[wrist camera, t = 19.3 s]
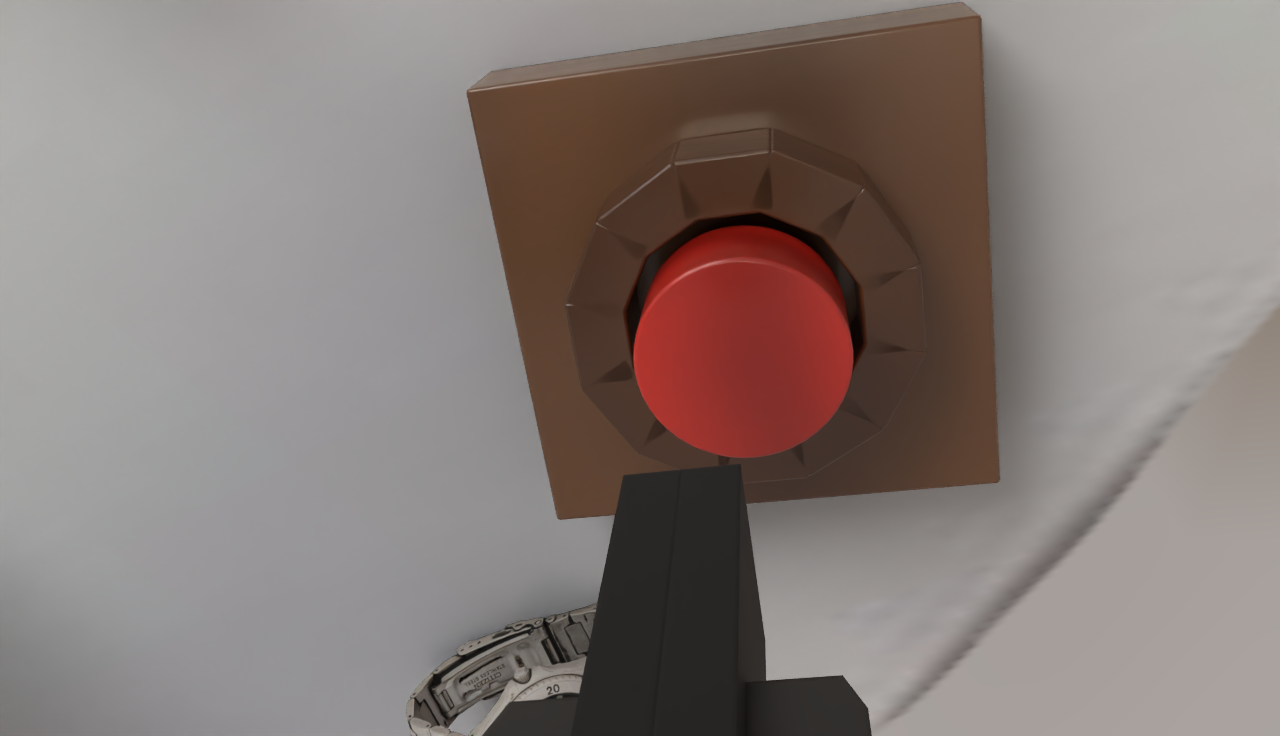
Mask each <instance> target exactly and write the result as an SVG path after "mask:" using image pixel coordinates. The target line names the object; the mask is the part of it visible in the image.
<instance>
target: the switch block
mask: <svg viewBox="0 0 1280 736" xmlns="http://www.w3.org/2000/svg"><path fill="white" fill-rule="evenodd" d="M467 98H468V102H469V107H470V112H471V117H472V121H473V126H474V131H475V135H476V140H477V145H478V149H479V154H480V159H481V163H482V168H483V173H484V177H485V182H486V187H487V191H488V196H489V201H490V205H491V210H492V215H493V220H494V224H495V229H496V234H497V238H498V243H499V248H500V252H501V257H502V262H503V266H504V271H505V276H506V280H507V285H508V290H509V294H510V299H511V304H512V309H513V313H514V318H515V323H516V327H517V332H518V337H519V341H520V346H521V351H522V355H523V360H524V365H525V369H526V374H527V379H528V383H529V388H530V393H531V397H532V402H533V407H534V412H535V416H536V421H537V426H538V430H539V435H540V440H541V444H542V449H543V454H544V458H545V463H546V468H547V472H548V477H549V482H550V486H551V491H552V496H553V501H554V505H555V510H556V515H557V518H558V519H560V520H561V519H573V518H585V517H597V516H609V515H615V514H616V509H617V504H618V499H619V494H620V489H621V484H622V479H623V475H630V474H641V473H651V472H661V471H672V470H682V469H693V468H703V467H713V466H724V465H734V464H741V471H742V478H743V485H744V492H745V500H746V504H751V503H763V502H775V501H787V500H799V499H810V498H822V497H834V496H846V495H858V494H870V493H882V492H894V491H905V490H917V489H929V488H941V487H953V486H965V485H977V484H988V483H997V482H999V480H1000V468H999V443H998V418H997V393H996V368H995V343H994V318H993V293H992V268H991V243H990V218H989V193H988V168H987V143H986V118H985V93H984V68H983V43H982V19H981V17H980V15H979V14H977V13H976V12H975V11H973V10H972V9H971V8H969V7H968V6H967V5H965V4H964V3H962V2H957V3H951V4H944V5H937V6H930V7H924V8H917V9H910V10H903V11H896V12H890V13H883V14H876V15H869V16H863V17H856V18H849V19H842V20H835V21H829V22H822V23H815V24H808V25H802V26H795V27H788V28H781V29H774V30H768V31H761V32H754V33H747V34H741V35H734V36H727V37H720V38H713V39H707V40H700V41H693V42H686V43H680V44H673V45H666V46H659V47H652V48H646V49H639V50H632V51H625V52H619V53H612V54H605V55H598V56H591V57H585V58H578V59H571V60H564V61H558V62H551V63H544V64H537V65H530V66H524V67H517V68H510V69H503V70H497V71H491V72H490V73H488V74H487V75H486V76H485V77H483V78H482V79H481V80H480V81H478V82H477V83H476V84H474V85H473V86H472V87H471V88H469V89H468V90H467ZM738 225H752V226H762V227H767V228H772V229H775V230H778V231H781V232H784V233H787V234H789V235H791V236H793V237H795V238H797V239H799V240H800V241H802V242H804V243H805V244H807V245H808V246H810V247H811V248H812V249H813V250H814V251H815V252H817V253H818V254H819V255H820V256H821V257H822V258H823V260H824V261H825V262H826V263H827V264H828V265H829V267H830V268H831V270H832V271H833V273H834V274H835V276H836V278H837V280H838V282H839V284H840V286H841V289H842V292H843V295H844V299H845V304H846V309H847V315H848V321H849V327H850V333H851V339H852V345H853V362H854V363H853V371H852V377H851V381H850V384H849V388H848V390H847V393H846V395H845V397H844V400H843V402H842V403H841V405H840V407H839V408H838V410H837V411H836V413H835V414H834V415H833V417H832V418H831V419H830V420H829V421H828V423H827V424H826V425H824V426H823V427H822V428H821V429H820V430H819V431H818V432H817V433H815V434H814V435H813V436H811V437H810V438H809V439H807V440H806V441H804V442H802V443H800V444H799V445H797V446H795V447H793V448H790V449H788V450H785V451H783V452H780V453H776V454H772V455H769V456H762V457H755V458H735V457H726V456H721V455H716V454H712V453H709V452H706V451H703V450H700V449H698V448H696V447H694V446H691V445H689V444H688V443H686V442H684V441H683V440H681V439H679V438H678V437H676V436H675V435H674V434H673V433H671V432H670V431H669V430H668V429H667V428H666V427H665V426H664V425H663V424H662V423H661V422H660V421H659V420H658V419H657V418H656V417H655V415H654V414H653V413H652V411H651V410H650V409H649V407H648V405H647V404H646V402H645V400H644V398H643V397H642V394H641V392H640V389H639V386H638V384H637V380H636V375H635V371H634V361H633V354H634V342H635V337H636V332H637V328H638V325H639V321H640V317H641V314H642V310H643V307H644V303H645V299H646V296H647V293H648V290H649V287H650V285H651V283H652V281H653V279H654V277H655V275H656V273H657V271H658V270H659V269H660V267H661V266H662V264H663V263H664V262H665V261H666V260H667V259H668V257H669V256H670V255H671V254H672V253H673V252H675V251H676V250H677V249H678V248H679V247H680V246H682V245H683V244H685V243H686V242H688V241H689V240H691V239H693V238H695V237H697V236H699V235H701V234H703V233H705V232H708V231H712V230H715V229H718V228H723V227H728V226H738Z"/></svg>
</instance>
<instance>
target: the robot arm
mask: <svg viewBox="0 0 1280 736" xmlns="http://www.w3.org/2000/svg"><path fill="white" fill-rule="evenodd" d="M482 736H872V735H871V728H870V720H869V713H868V708H867V707H866V705H865V704H864V703H863V701H862V700H861V699H860V697H859V696H858V695H857V694H856V692H855V691H854V690H853V688H852V687H851V686H850V684H849V683H848V682H847V681H846V679H845V678H844V677H843V675H842V676H827V677H813V678H798V679H784V680H770V681H766V659H765V636H764V629H763V622H762V615H761V608H760V600H759V593H758V586H757V579H756V572H755V564H754V557H753V550H752V543H751V536H750V528H749V521H748V514H747V507H746V500H745V492H744V485H743V478H742V471H741V464H734V465H724V466H713V467H703V468H693V469H682V470H672V471H661V472H651V473H641V474H630V475H623V479H622V484H621V489H620V494H619V499H618V504H617V509H616V514H615V519H614V524H613V529H612V534H611V539H610V544H609V549H608V554H607V558H606V563H605V568H604V573H603V578H602V583H601V588H600V593H599V598H598V603H597V608H596V613H595V618H594V623H593V628H592V633H591V638H590V642H589V647H588V652H587V657H586V662H585V667H584V672H583V677H582V682H581V687H580V692H579V697H570V698H556V699H542V700H527V701H513V702H509V703H508V705H507V706H506V707H505V708H504V709H503V711H502V712H501V713H500V714H499V716H498V717H497V718H496V719H495V720H494V722H493V723H492V724H491V725H490V726H489V728H488V729H487V730H486V731H485V732H484V734H483V735H482Z"/></svg>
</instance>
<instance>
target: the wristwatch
mask: <svg viewBox="0 0 1280 736" xmlns="http://www.w3.org/2000/svg"><path fill="white" fill-rule="evenodd" d="M596 608H597V604H593V605H590V606H587V607H584V608H580V609H576V610H573V611H569V612H566V613H563V614H559V615H552V616H550V617H548V618H534V619H531V620H529V621H519V622H516V623H513V624H511V625H508V626H506V627H505V630H502V631H498V632H496V633H493V634H490V635H487V636H484V637H482V638H479V639H477V640H475V641H469V642H467V643H466V644H464V645H462V646H460V647H458V648H457V655H455V656H453V657H451V658H450V659H448V660H446V661H445V662H443V663H442V664H441V665H440V666H438V667H437V668H436V669H435V670H434V671H433V672H432V673H431V674H430V675H429V676H427V677H426V678H425V679H424V680H423V682H422V683H421V684H420V685H419V686H418V687H417V688H416V689H415V690H414V692H413V693H412V695H411V696H410V698H411V699H410V700H409V701H408V704H407V708H406V718H407V721H408V724H409V727H410V732H411V736H465V735H463V734H460V733H457V732H451V731H450V729H448V727H449V726H450V725H451V724H452V722H453V721H454V720H455V719H456V717H457V716H458V715H459V714H461V713H463V712H464V711H465V710H467V709H468V708H470V707H471V706H472V705H474V704H475V703H477V702H478V701H480V700H481V699H483V700H488V699H491V698H494V697H496V696H499V695H501V694H502V695H501V697H500V699H499V700H498V702H497V703H496V704H495V706H494V707H493V708H492V710H491V711H490V712H489V714H488V715H487V716H486V717H485V719H484V720H483V721H482V722H481V723H480V724H479V725H478V726H477V727H476V728H475V729H473V730H472V731H471V732H470V735H469V736H482V735H483V734H484V732H485V731H486V730H487V729H488V728H489V726H490V725H491V724H492V723H493V722H494V720H495V719H496V718H497V717H498V716H499V714H500V713H501V712H502V711H503V709H504V708H505V707H506V706H507V705H508V703H509V702H513V701H527V700H542V699H556V698H570V697H579V692H580V687H581V682H582V677H583V672H584V667H585V662H586V657H587V652H588V647H589V642H590V638H591V633H592V628H593V623H594V618H595V613H596Z"/></svg>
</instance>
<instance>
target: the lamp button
mask: <svg viewBox="0 0 1280 736" xmlns="http://www.w3.org/2000/svg"><path fill="white" fill-rule="evenodd" d="M633 361H634V371H635V375H636V380H637V384H638V386H639V389H640V392H641V394H642V397H643V398H644V400H645V402H646V404H647V405H648V407H649V409H650V410H651V411H652V413H653V414H654V415H655V417H656V418H657V419H658V420H659V421H660V422H661V423H662V424H663V425H664V426H665V427H666V428H667V429H668V430H669V431H670V432H671V433H673V434H674V435H675V436H676V437H678V438H679V439H681V440H683V441H684V442H686V443H688V444H689V445H691V446H694V447H696V448H698V449H700V450H703V451H706V452H709V453H712V454H716V455H721V456H726V457H735V458H755V457H762V456H769V455H772V454H776V453H780V452H783V451H785V450H788V449H790V448H793V447H795V446H797V445H799V444H800V443H802V442H804V441H806V440H807V439H809V438H810V437H811V436H813V435H814V434H815V433H817V432H818V431H819V430H820V429H821V428H822V427H823V426H824V425H826V424H827V423H828V421H829V420H830V419H831V418H832V417H833V415H834V414H835V413H836V411H837V410H838V408H839V407H840V405H841V403H842V402H843V400H844V397H845V395H846V393H847V390H848V388H849V384H850V381H851V377H852V371H853V363H854V362H853V345H852V339H851V333H850V327H849V321H848V315H847V309H846V304H845V299H844V295H843V292H842V289H841V286H840V284H839V282H838V280H837V278H836V276H835V274H834V273H833V271H832V270H831V268H830V267H829V265H828V264H827V263H826V262H825V261H824V260H823V258H822V257H821V256H820V255H819V254H818V253H817V252H815V251H814V250H813V249H812V248H811V247H810V246H808V245H807V244H805V243H804V242H802V241H800V240H799V239H797V238H795V237H793V236H791V235H789V234H787V233H784V232H781V231H778V230H775V229H772V228H767V227H762V226H752V225H738V226H728V227H723V228H718V229H715V230H712V231H708V232H705V233H703V234H701V235H699V236H697V237H695V238H693V239H691V240H689V241H688V242H686V243H685V244H683V245H682V246H680V247H679V248H678V249H677V250H676V251H675V252H673V253H672V254H671V255H670V256H669V257H668V259H667V260H666V261H665V262H664V263H663V264H662V266H661V267H660V269H659V270H658V271H657V273H656V275H655V277H654V279H653V281H652V283H651V285H650V287H649V290H648V293H647V296H646V299H645V303H644V307H643V310H642V314H641V317H640V321H639V325H638V328H637V332H636V337H635V342H634V354H633Z"/></svg>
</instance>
